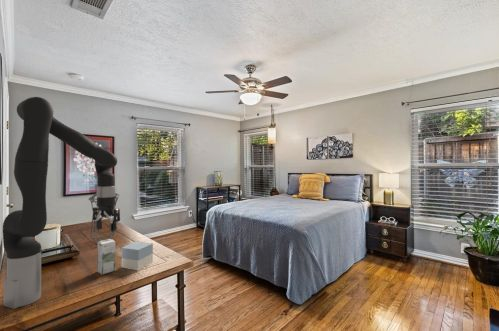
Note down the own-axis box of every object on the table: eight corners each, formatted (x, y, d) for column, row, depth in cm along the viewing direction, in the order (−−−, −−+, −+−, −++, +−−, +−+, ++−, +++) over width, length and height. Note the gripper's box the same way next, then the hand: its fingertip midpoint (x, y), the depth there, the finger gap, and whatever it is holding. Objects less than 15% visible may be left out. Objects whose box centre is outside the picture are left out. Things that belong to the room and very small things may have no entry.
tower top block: (138, 260, 114) (138, 250, 114) (121, 258, 117) (121, 247, 117) (152, 253, 123) (152, 243, 123) (136, 250, 126) (136, 241, 126)
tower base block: (137, 270, 114) (138, 260, 114) (121, 267, 117) (121, 257, 117) (152, 262, 123) (152, 253, 123) (137, 260, 127) (137, 250, 127)
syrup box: (110, 267, 117) (110, 238, 116) (115, 271, 113) (115, 240, 113) (97, 271, 112) (97, 240, 112) (101, 275, 108) (101, 243, 108)
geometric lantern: (119, 237, 165) (120, 186, 164) (115, 245, 150) (116, 189, 149) (92, 239, 159) (93, 187, 158) (85, 247, 144) (86, 190, 143)
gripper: (87, 195, 111) (87, 230, 111) (110, 197, 106) (110, 233, 107) (101, 193, 118) (102, 226, 118) (124, 195, 113) (124, 229, 114)
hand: (106, 230), depth 112 cm, fingers open, 8 cm apart
